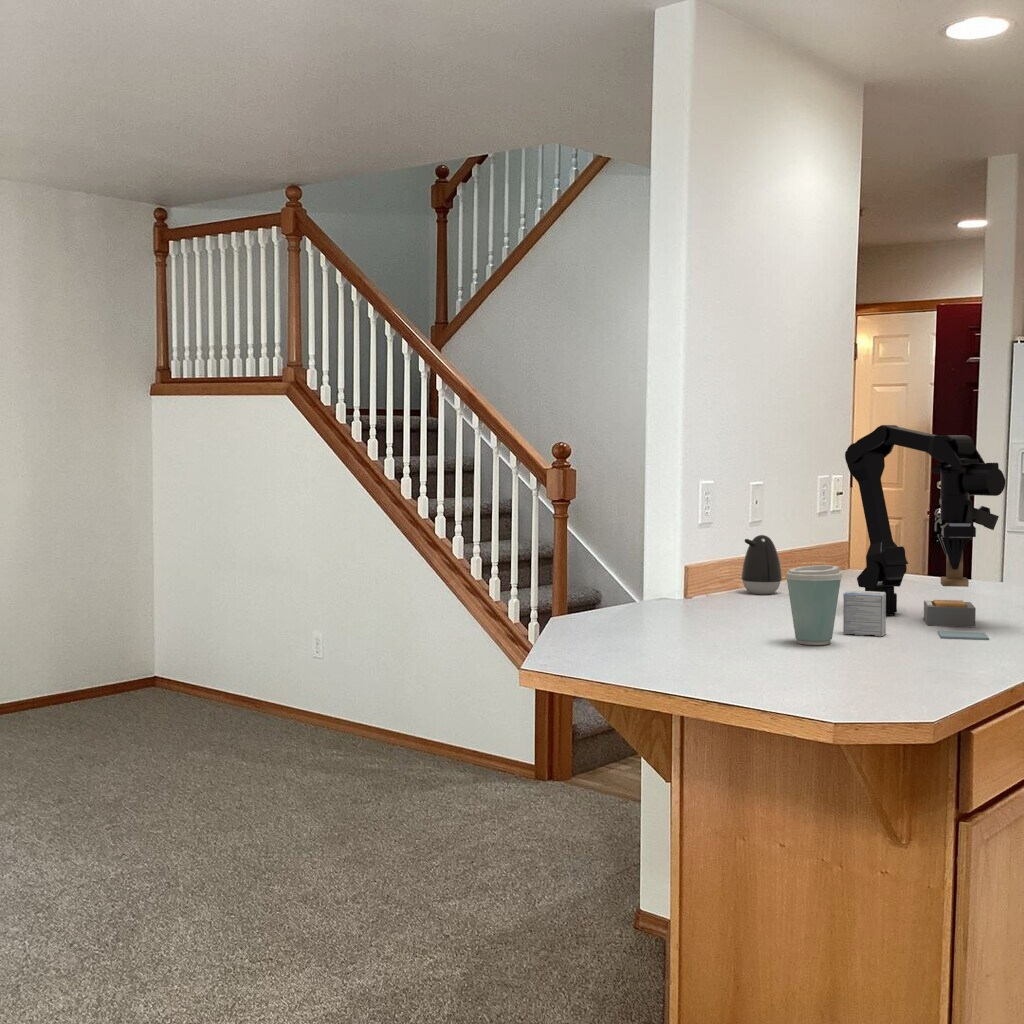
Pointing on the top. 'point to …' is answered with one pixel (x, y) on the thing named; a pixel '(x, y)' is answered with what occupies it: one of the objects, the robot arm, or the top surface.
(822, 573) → the disposable coffee cup
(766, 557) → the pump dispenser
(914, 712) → the top surface
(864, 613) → the medicine box
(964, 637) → the rubber mat
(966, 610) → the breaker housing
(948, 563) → the press tool
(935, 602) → the button
